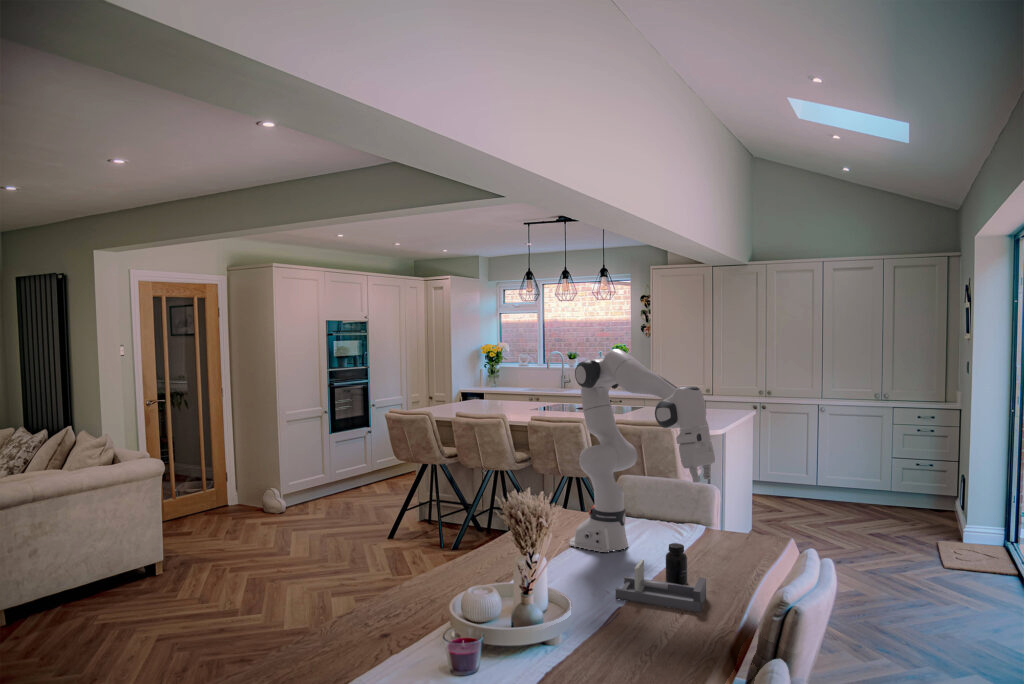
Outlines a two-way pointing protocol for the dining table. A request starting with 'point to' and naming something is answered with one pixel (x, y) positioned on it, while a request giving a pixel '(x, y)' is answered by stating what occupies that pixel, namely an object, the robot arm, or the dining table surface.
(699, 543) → the dining table surface
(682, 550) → the supplement bottle
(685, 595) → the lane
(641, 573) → the pusher
